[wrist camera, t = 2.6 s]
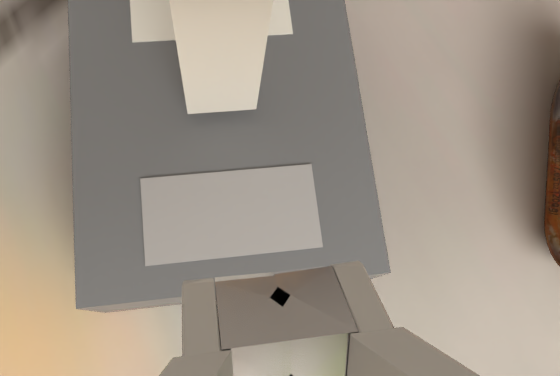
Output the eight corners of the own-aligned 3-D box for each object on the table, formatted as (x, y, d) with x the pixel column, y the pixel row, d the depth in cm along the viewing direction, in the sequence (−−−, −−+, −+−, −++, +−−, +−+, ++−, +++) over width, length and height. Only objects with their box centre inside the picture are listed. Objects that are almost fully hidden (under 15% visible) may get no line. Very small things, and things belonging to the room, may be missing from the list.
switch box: (358, 282, 30) (391, 272, 24) (105, 312, 28) (75, 308, 23) (315, 5, 35) (334, -61, 29) (94, 15, 33) (65, -53, 27)
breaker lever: (265, 116, 25) (309, -96, 12) (179, 122, 24) (134, -93, 12) (259, 70, 25) (296, -178, 13) (175, 75, 25) (128, -178, 12)
